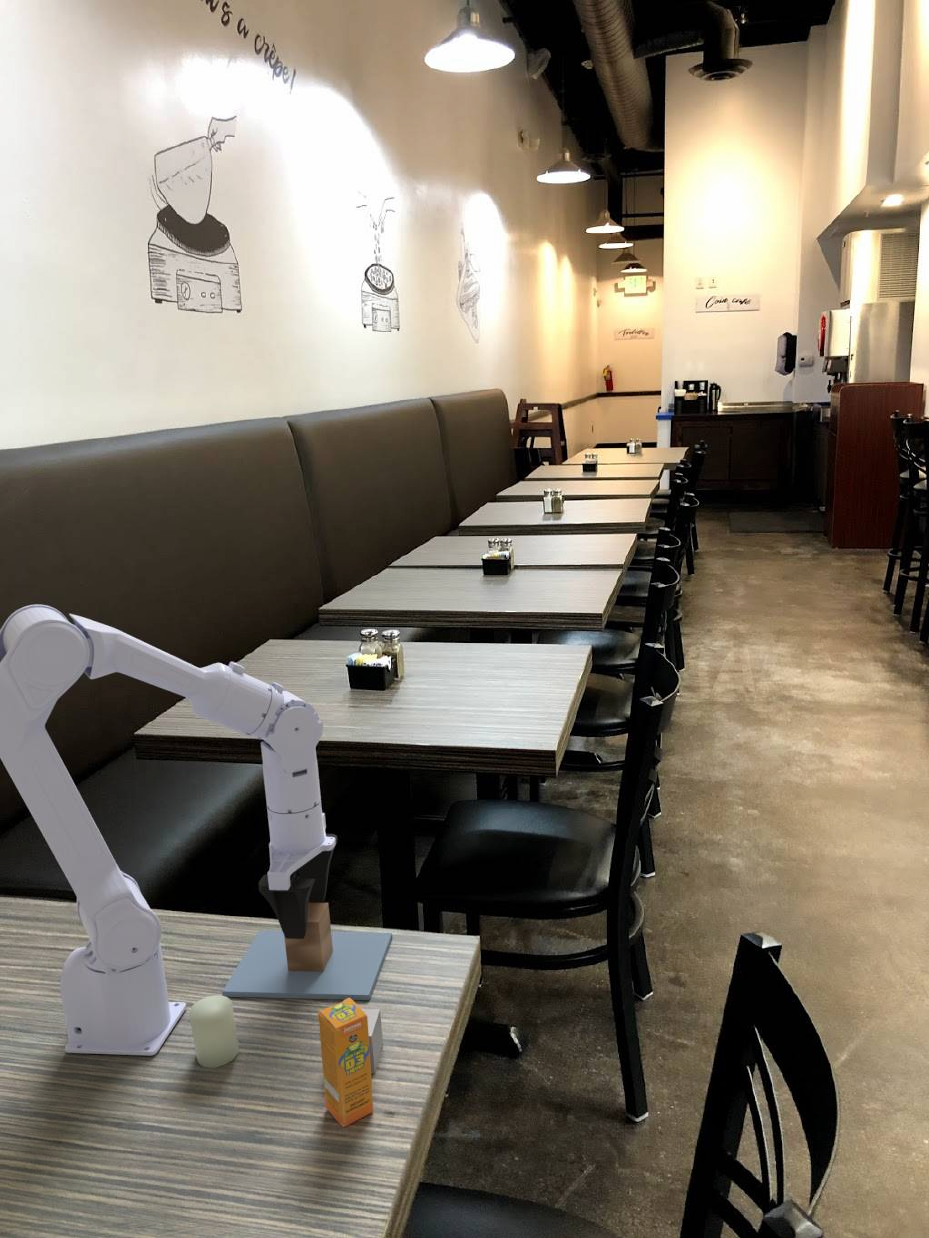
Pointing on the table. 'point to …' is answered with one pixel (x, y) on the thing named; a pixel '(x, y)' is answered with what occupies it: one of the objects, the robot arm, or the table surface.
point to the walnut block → (312, 942)
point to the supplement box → (346, 1061)
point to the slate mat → (341, 979)
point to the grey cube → (374, 1036)
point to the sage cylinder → (214, 1031)
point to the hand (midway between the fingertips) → (305, 918)
